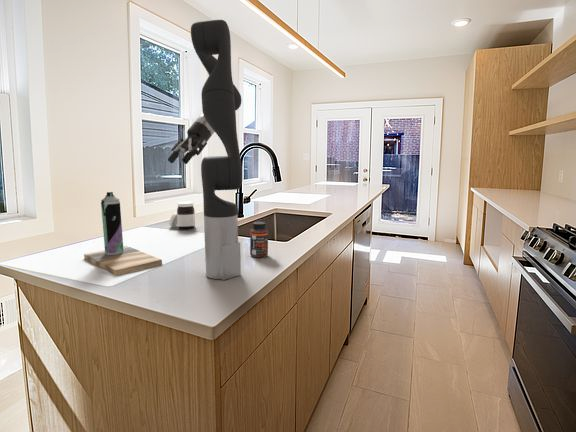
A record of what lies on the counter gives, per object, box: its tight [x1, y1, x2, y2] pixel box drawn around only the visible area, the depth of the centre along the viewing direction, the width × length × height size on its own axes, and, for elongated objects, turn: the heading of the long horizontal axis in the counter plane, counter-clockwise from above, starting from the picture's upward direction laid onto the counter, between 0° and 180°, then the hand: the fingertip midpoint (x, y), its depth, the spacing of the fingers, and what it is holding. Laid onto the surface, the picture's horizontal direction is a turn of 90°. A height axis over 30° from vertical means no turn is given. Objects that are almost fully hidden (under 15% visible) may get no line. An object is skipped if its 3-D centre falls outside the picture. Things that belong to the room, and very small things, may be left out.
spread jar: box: [168, 201, 196, 231], centre depth 167 cm, size 12×11×12 cm
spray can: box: [100, 191, 124, 255], centre depth 119 cm, size 6×6×20 cm
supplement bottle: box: [249, 221, 269, 259], centre depth 123 cm, size 6×6×11 cm
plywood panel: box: [83, 245, 163, 276], centre depth 117 cm, size 24×14×2 cm, turn 48°
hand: (176, 161), depth 126 cm, fingers open, 8 cm apart
